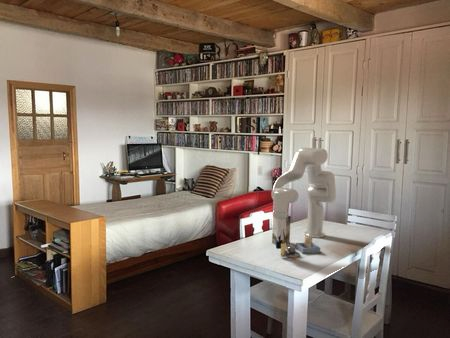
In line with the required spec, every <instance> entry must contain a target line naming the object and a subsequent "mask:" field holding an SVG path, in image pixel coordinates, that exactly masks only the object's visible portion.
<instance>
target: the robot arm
mask: <svg viewBox="0 0 450 338" xmlns="http://www.w3.org/2000/svg"><path fill="white" fill-rule="evenodd" d="M328 157H329V153H328V151H327V150H326V149H325V148H317V147H316V148H315V147H301V148H299V149H298V150H297V151H296V152H295V153H294V154H293V158H292V160H291V162H290V165H289V167H288V170H287V171H286V172H284V173H283V174H281V175H280V176H279V177H278V178H277V179H276V180H275V182H274V184H273V187H272V189H271V198H272V200H273V201H272V204H273V205H272V231H271V232H272V233H273V234H274V235H275V236H276V240H277V241H276V244H275V248H276V250H281V243H283V240H284V237H285V236H286V218H287V215H288V216H289V214H288V208H289V207H288V206H289V204H293V203H296V202H297V201H298V200H299V192H298V191H297V189H294V188H288V187H284V186H285V185H287V184H289V183H292V182H296V181H299V180H301V179H302V178H303V177H304V174H305V171H306V172H307V180H308V183H309V184H310V186H308V188H307V192H306V195H307V226H306V231H304V235H305V236H312V238H314V239H315V238H316V239H317V238H324V237H325V236H326V235H325V232H323V230H324V228H323V225H324V205H323V204H322V203H330V204H331V203H334V202H335V201H336V196H337V192H336V179H335V175H334V173H333V172H332V171H326V170H322V165H324V164H325V163H326V162H327V160H328ZM273 217H274V218H273Z"/></svg>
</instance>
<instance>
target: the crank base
mask: <svg viewBox="0 0 450 338" xmlns="http://www.w3.org/2000/svg"><path fill="white" fill-rule="evenodd" d="M300 253H301V252H300V251H295V254H288V255H286V257H285V258H290V259H293V260H294V261H299V258H300V257H301V256H300V255H301V254H300Z"/></svg>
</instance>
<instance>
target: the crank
mask: <svg viewBox="0 0 450 338" xmlns="http://www.w3.org/2000/svg"><path fill="white" fill-rule="evenodd" d="M296 250H297V249H296V246H293V245H288V246H287V243H281V249H280V257H281V258H287V257H286V255H288V254H295V251H296ZM296 252H297V251H296Z"/></svg>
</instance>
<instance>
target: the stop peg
mask: <svg viewBox="0 0 450 338" xmlns="http://www.w3.org/2000/svg"><path fill="white" fill-rule="evenodd" d="M312 242H313V237H312V236H306V235H305V236H304V243H305V245H304V248H312Z"/></svg>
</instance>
